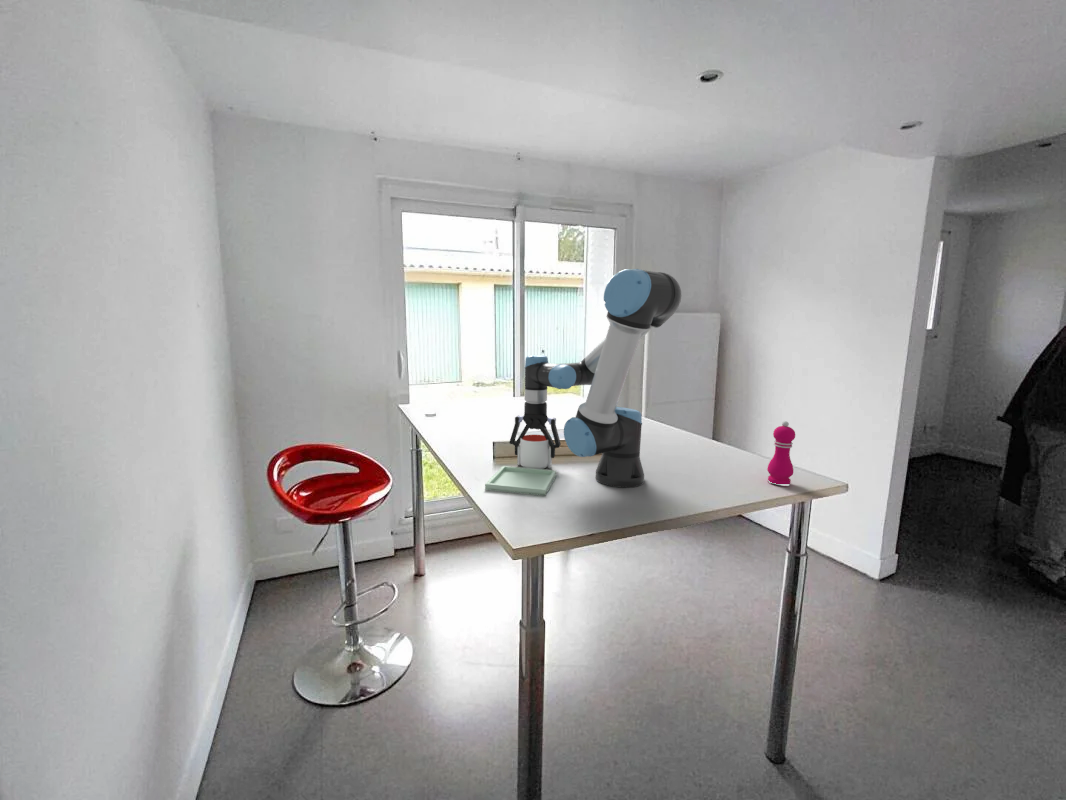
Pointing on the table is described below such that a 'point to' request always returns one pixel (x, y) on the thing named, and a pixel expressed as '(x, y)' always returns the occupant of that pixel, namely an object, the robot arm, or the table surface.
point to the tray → (521, 480)
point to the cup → (534, 451)
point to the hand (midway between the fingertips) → (534, 465)
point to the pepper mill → (781, 455)
